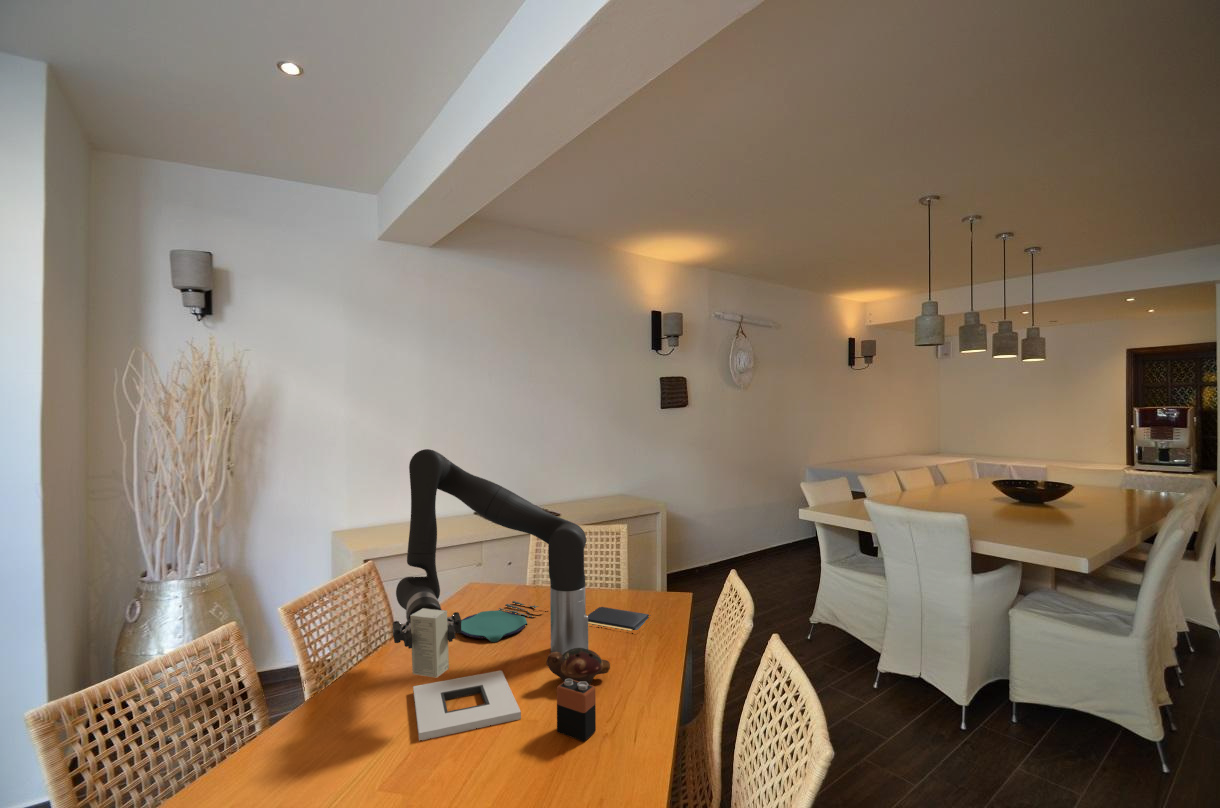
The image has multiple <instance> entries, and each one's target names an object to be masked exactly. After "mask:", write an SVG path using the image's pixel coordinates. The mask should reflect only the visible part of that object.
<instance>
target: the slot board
mask: <svg viewBox="0 0 1220 808" xmlns="http://www.w3.org/2000/svg"><path fill="white" fill-rule="evenodd" d="M412 689H413V690H412V691H413V692H412V693H414V694H413V701H414V702H415V703H414V709H415V710H414V711H415V719H416V720H415V721H416V725H417V736H418V742H420V740H422V741H425V740H430V738H431V739H435V738H440V737H444V736H449V735H452V734H453V735H454V734H457V733H462V732H463V733H464V732H468V731H472V730H476V728H477V729H481V728H486V727H490V725H491V726H495V725H499V724H503V723H509V722H513V721H518V720H521V719H522V712H521V709H520V706H519V704H518V702H517V700H516V698H515V696H514V694H513V691H512V689H511V688H510V684H509V683H508V680H507V679H506V676H505V674H504V672H503V670H496V671H490V672H485V673H480V674H473V675H468V676H463V677H457V678H451V679H447V680H441V681H435V682H429V683H424V684H420V685H414V686H412ZM479 694H480V696H481V699H482V702H483V703H482V704H479V705H473V706H466V707H464V708H458V709H453V710H449V711H448V707H447V702H446V701H447V700H453V699H458V698H464V697H468V696H474V695H479Z"/></svg>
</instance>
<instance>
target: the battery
mask: <svg viewBox="0 0 1220 808" xmlns="http://www.w3.org/2000/svg"><path fill="white" fill-rule="evenodd" d="M596 704H597V703H596V686H594V685H588V683H587V682H578V681H575V680H572V679H565V682H563V681H562V683H560V684H559V685H558V686H557V687H556V731H557V733H559V734H561V735H563V736H567V737H570V738H572V739H576V740H578V741H581V742H586V741H587V740H588V739H589V738H590V737H591V736H592V735H593V734H595V732H596V730H597V729H596V727H597V726H596V721H597V720H596V718H597V717H596V716H597V715H596Z"/></svg>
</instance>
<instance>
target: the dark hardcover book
mask: <svg viewBox="0 0 1220 808" xmlns="http://www.w3.org/2000/svg"><path fill="white" fill-rule="evenodd" d="M587 615H588V624H592V625H598V626H603V627H611V628H615V629H621V630H627V631H632V630H638V629H639V628H640V627H641V626H642V625H643V624H644V623H645V621H646V620H647V619H648V618H649V617H648V616H649V613H643V612H637V611H632V610H631V611H630V610H623V609H618V608H612V607H605V606H599V607H597V608H596V609H595V611H594V610H593V611H592V612H590V613H589V614H587Z"/></svg>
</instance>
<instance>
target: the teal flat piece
mask: <svg viewBox="0 0 1220 808" xmlns="http://www.w3.org/2000/svg"><path fill="white" fill-rule="evenodd" d="M512 603H515V604H520V605H526V604H524V603H522V602H519V601H516V600H513V601H511V604H509V603H506V604H505V605H504V606H507V607H506V608H511V607H512V609H516V608H517V609H516V610H510V609H505V608H501V607H499V608H498V610H486V611H480V612H478V613H475V614H472V615H469V616H466V617H465V618H463V619H462V618H461V629H462V632H461V633H460V634H463V635H464V636H467V637H469V638H474V639H487V640H488V641H489V642H491V643H497V642H499V641H500V640H501V639H502V638H505V637H508V636H511V635H514V634H517V633H519V632H520V631H522V630H523V629H525V627H526V626H528V625H529V624H528V621H527V617H525V616H528V615H529V617H532V616H533V615H531V614H526V613H530V612H528V610H527V612H526V613H523V612H519V609H522V610H521V611H523V610H526V609H524V608H521V607H520V606H517V605H515V604H512ZM529 606H530V607H534V608H536V607H539V606H538V605H537V606H536V604H534V605H529ZM499 609H500V610H499ZM504 610H505V611H504ZM508 611H509V612H508ZM511 612H512V613H511ZM515 613H518V614H521V615H525V614H526V615H525V616H521V615H518V614H515ZM529 617H528V618H529ZM525 625H526V626H525Z"/></svg>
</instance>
